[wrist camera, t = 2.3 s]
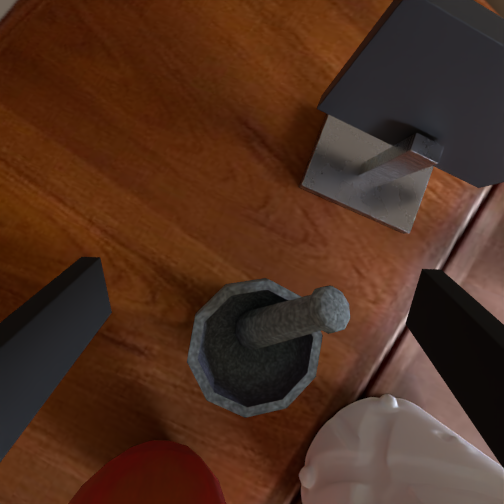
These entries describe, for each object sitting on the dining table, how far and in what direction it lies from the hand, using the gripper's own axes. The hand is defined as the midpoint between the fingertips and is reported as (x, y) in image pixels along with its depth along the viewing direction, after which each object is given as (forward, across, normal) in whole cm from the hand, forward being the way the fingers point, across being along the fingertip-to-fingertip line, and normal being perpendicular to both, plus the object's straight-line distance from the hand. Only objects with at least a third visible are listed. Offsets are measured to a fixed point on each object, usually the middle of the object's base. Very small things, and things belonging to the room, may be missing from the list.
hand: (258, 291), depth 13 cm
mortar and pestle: (+12, -1, -11) cm, 16 cm away
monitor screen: (+16, +12, +5) cm, 21 cm away
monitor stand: (+20, +11, +2) cm, 23 cm away
